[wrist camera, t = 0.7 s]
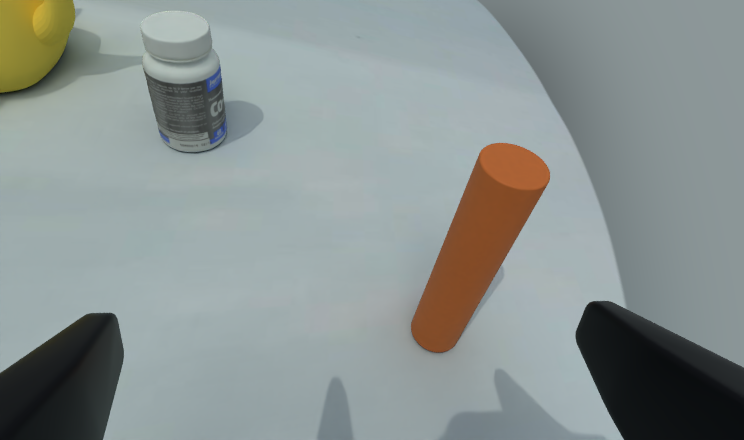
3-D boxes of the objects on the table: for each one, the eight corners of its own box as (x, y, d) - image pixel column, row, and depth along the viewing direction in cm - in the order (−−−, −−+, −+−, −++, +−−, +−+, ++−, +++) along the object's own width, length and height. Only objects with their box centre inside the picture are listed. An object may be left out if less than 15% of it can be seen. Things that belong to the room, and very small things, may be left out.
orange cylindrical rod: (466, 346, 26) (565, 184, 17) (422, 358, 25) (502, 193, 16) (445, 305, 27) (525, 139, 19) (403, 315, 27) (466, 145, 18)
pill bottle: (230, 152, 33) (218, 45, 27) (160, 156, 32) (130, 45, 25) (224, 112, 36) (213, 7, 30) (160, 114, 34) (134, 5, 28)
